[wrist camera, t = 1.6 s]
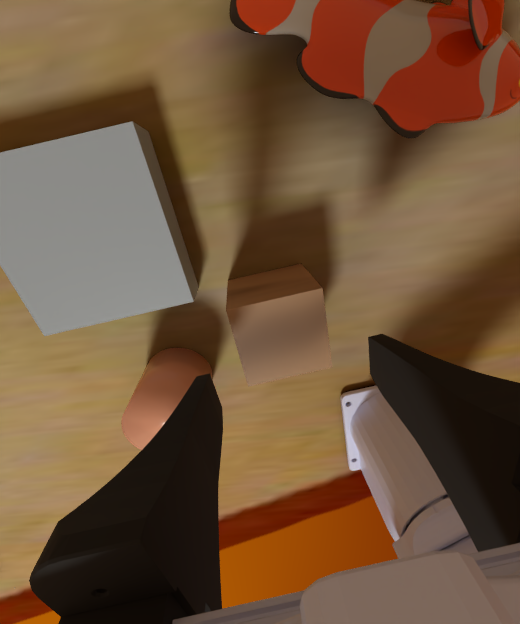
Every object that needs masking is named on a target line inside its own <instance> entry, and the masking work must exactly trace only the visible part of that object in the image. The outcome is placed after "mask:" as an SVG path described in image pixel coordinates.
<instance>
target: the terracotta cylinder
mask: <svg viewBox="0 0 520 624" xmlns="http://www.w3.org/2000/svg"><path fill="white" fill-rule="evenodd" d="M209 373H210V375H211V378H213V374H212V369H211V366H210V364H209V363H208V361H207V360H206V359H205V358H204V357H203V356H202V355H200V354H199V353H197V352H195V351H193V350H190V349H186V348H169V349H165V350H162V351H160V352H158V353H157V354H155V355H154V356H153V357H152V358H151V359H150V361H149V362H148V364H147V366H146V368H145V370H144V372H143V375H142V377H141V379H140V381H139V383H138V385H137V387H136V389H135V391H134V393H133V395H132V397H131V399H130V402H129V404H128V406H127V408H126V410H125V412H124V414H123V417H122V423H121V424H122V430H123V433H124V435H125V436H126V438H127V439H128V440H129V441H130V443H132V444H133V445H134V446H135V447H137V448H138V449H140V450H143V448H144V447H145V446H146V445H147V444H148V443H149V442H150V441H151V439H152V438H153V437H154V436H155V435H156V434H157V432H158V431H159V430H160V429H161V428H162V426H163V425H164V423H165V422H166V421H167V419H168V418H169V417H170V415H171V414H172V413H173V411H174V410H175V408H176V407H177V405H178V404H179V402H180V401H181V400H182V398H183V396H184V395H185V393H186V392H187V390H188V389H189V387H190V386H191V384H192V382H193V381H194V379H195V378H196V376H200V375H205V374H209Z"/></svg>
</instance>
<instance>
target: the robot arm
mask: <svg viewBox="0 0 520 624" xmlns="http://www.w3.org/2000/svg"><path fill="white" fill-rule="evenodd" d="M368 340H369V359H370V374H371V376H372V378H373V380H374V382H375V384H376V386H371V387H367V388H363V389H358V390H354V391H349V392H345V393H343V394H342V395H341V406H342V415H343V423H344V432H345V441H346V449H347V458H348V466H349V468H350V470H353V471H355V470H359V469H361V470H362V472H363V475H364V477H365V479H366V481H367V484H368V486H369V488H370V490H371V493H372V495H373V497H374V499H375V501H376V504H377V506H378V508H379V510H380V512H381V515H382V517H383V519H384V522H385V524H386V526H387V528H388V530H389V532H390V534H391V536H392V537H393V539H394V540H395V542H394V543H393V547H394V549H395V552H396V554H397V556H398V559H395V560H391V561H386V562H382V563H377V564H373V565H368V566H365V567H360V568H355V569H350V570H346V571H342V572H337V573H334V574H331V575H329V576H326V577H323V578H320V579H318V580H316V581H315V582H314V583H313V584H311V585H310V586H309V587H308V588H306V589H305V591H300V592H296V593H291V594H287V595H282V596H278V597H273V598H269V599H265V600H260V601H255V602H251V603H247V604H242V605H237V606H233V607H228V608H224V609H222V601H221V583H220V560H219V527H218V481H219V469H220V458H221V446H222V434H223V417H222V406H221V403H220V400H219V398H218V395H217V392H216V389H215V386H214V384H213V381H212V378H211V375H210V373H209V374H205V375H200V376H196V378H195V379H194V381H193V382H192V384H191V386H190V387H189V389H188V390H187V392H186V393H185V395H184V396H183V398H182V400H181V401H180V402H179V404H178V405H177V407H176V408H175V410H174V411H173V413H172V414H171V415H170V417H169V418H168V419H167V421H166V422H165V423H164V425H163V426H162V428H161V429H160V430H159V431H158V432H157V434H156V435H155V436H154V437H153V438H152V439H151V441H150V442H149V443H148V444H147V445H146V446H145V447H144V448H143V450H142V451H141V452H140V453H139V454H138V455H137V456H136V457H135V458H134V459H133V460H132V461H131V462H130V463H129V464H128V465H127V466H126V467H125V468H124V469H123V470H121V471H120V472H119V473H118V474H117V475H116V476H115V477H114V478H113V479H112V480H110V481H109V482H108V483H107V484H106V485H105V486H103V487H102V488H101V489H100V490H99V491H98V492H96V493H95V494H94V495H93V496H91V497H90V498H89V499H88V500H86V501H85V502H84V503H82V504H81V505H80V506H78V507H77V508H76V509H75V510H73V511H72V512H71V513H69V514H68V515H67V516H65V517H64V518H63V519H61V520H60V521H58V523H57V525H56V527H55V529H54V531H53V533H52V534H51V536H50V538H49V540H48V542H47V544H46V546H45V548H44V550H43V552H42V554H41V556H40V558H39V559H38V561H37V563H36V565H35V567H34V569H33V571H32V573H31V576H30V580H29V581H30V585H31V588H32V591H33V592H34V593H35V595H36V596H37V597H38V598H39V599H40V600H42V601H43V602H44V603H45V604H46V605H48V606H49V607H50V608H51V609H52V610H53V611H55V612H56V613H57V614H58V615H60V616H61V619H60V621H59V624H520V383H517V382H513V381H509V380H505V379H501V378H497V377H493V376H489V375H485V374H482V373H478V372H475V371H472V370H469V369H466V368H463V367H460V366H457V365H454V364H451V363H448V362H446V361H443V360H441V359H438V358H435V357H433V356H431V355H428V354H426V353H424V352H421V351H419V350H417V349H414V348H412V347H410V346H408V345H406V344H404V343H401V342H399V341H397V340H395V339H393V338H390V337H388V336H386V335H383V334H379V335H375V336H371V337H368ZM347 402H349V403H347Z"/></svg>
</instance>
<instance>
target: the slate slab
mask: <svg viewBox="0 0 520 624" xmlns="http://www.w3.org/2000/svg"><path fill="white" fill-rule="evenodd" d="M0 266H1V267H2V269H3V270H4V272H5V274H6V275H7V277H8V278H9V280H10V282H11V283H12V285H13V286H14V288H15V290H16V291H17V293H18V294H19V296H20V298H21V299H22V301H23V302H24V304H25V306H26V307H27V309H28V311H29V312H30V314H31V315H32V317H33V319H34V320H35V322H36V323H37V325H38V327H39V328H40V330H41V331H42V333H43V335H44V336H47V335H51V334H55V333H60V332H64V331H68V330H73V329H77V328H81V327H86V326H90V325H95V324H99V323H103V322H108V321H112V320H116V319H121V318H125V317H129V316H134V315H138V314H142V313H147V312H151V311H155V310H160V309H164V308H168V307H173V306H177V305H182V304H186V303H190V302H194V299H195V296H196V294H197V291H198V288H199V286H198V283H197V280H196V277H195V274H194V271H193V268H192V265H191V262H190V259H189V256H188V252H187V249H186V246H185V243H184V240H183V237H182V234H181V231H180V228H179V225H178V221H177V218H176V215H175V212H174V209H173V206H172V203H171V200H170V197H169V194H168V191H167V187H166V184H165V181H164V178H163V175H162V172H161V169H160V166H159V163H158V160H157V157H156V153H155V150H154V147H153V144H152V141H151V138H150V135H149V132H148V131H147V130H145V129H144V128H142V127H141V126H139V125H137V124H136V123H134V122H133V121H132V122H127V123H123V124H119V125H115V126H110V127H106V128H102V129H98V130H94V131H89V132H85V133H81V134H77V135H72V136H68V137H64V138H60V139H56V140H51V141H47V142H43V143H39V144H34V145H30V146H26V147H22V148H18V149H13V150H9V151H5V152H1V153H0Z"/></svg>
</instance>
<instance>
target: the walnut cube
mask: <svg viewBox="0 0 520 624" xmlns="http://www.w3.org/2000/svg"><path fill="white" fill-rule="evenodd" d="M226 312H227V315H228V318H229V322H230V325H231V329H232V332H233V336H234V339H235V343H236V346H237V349H238V353H239V356H240V360H241V363H242V367H243V370H244V374H245V377H246V380H247V384H248V386H253V385H257V384H261V383H266V382H270V381H275V380H279V379H284V378H288V377H292V376H297V375H301V374H306V373H310V372H314V371H319V370H323V369H328V368H332V361H331V353H330V345H329V337H328V329H327V320H326V312H325V304H324V296H323V288H322V287H321V286H320V285H319V283H318V282H317V281H316V280H315V279H314V278H313V276H312V275H311V274H310V273H309V272H308V271H307V270H306V268H305V267H304V266H303V265H302V264H297V265H292V266H288V267H284V268H279V269H275V270H271V271H266V272H262V273H258V274H253V275H249V276H245V277H240V278H236V279H232V280H228V287H227V304H226Z"/></svg>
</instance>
